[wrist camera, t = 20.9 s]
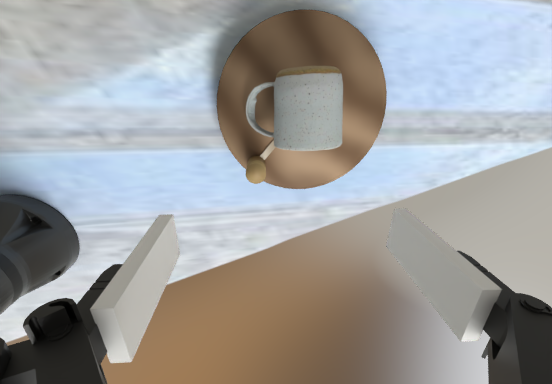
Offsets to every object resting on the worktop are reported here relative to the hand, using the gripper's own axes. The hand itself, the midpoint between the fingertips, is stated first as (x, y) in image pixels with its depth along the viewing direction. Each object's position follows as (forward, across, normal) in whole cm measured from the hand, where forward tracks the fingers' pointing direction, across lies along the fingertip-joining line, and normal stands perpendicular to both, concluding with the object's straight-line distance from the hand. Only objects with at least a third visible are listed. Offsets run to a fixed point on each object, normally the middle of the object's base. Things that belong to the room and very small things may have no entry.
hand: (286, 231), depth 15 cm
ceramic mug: (+20, +3, +5) cm, 21 cm away
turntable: (+21, +4, +5) cm, 22 cm away
